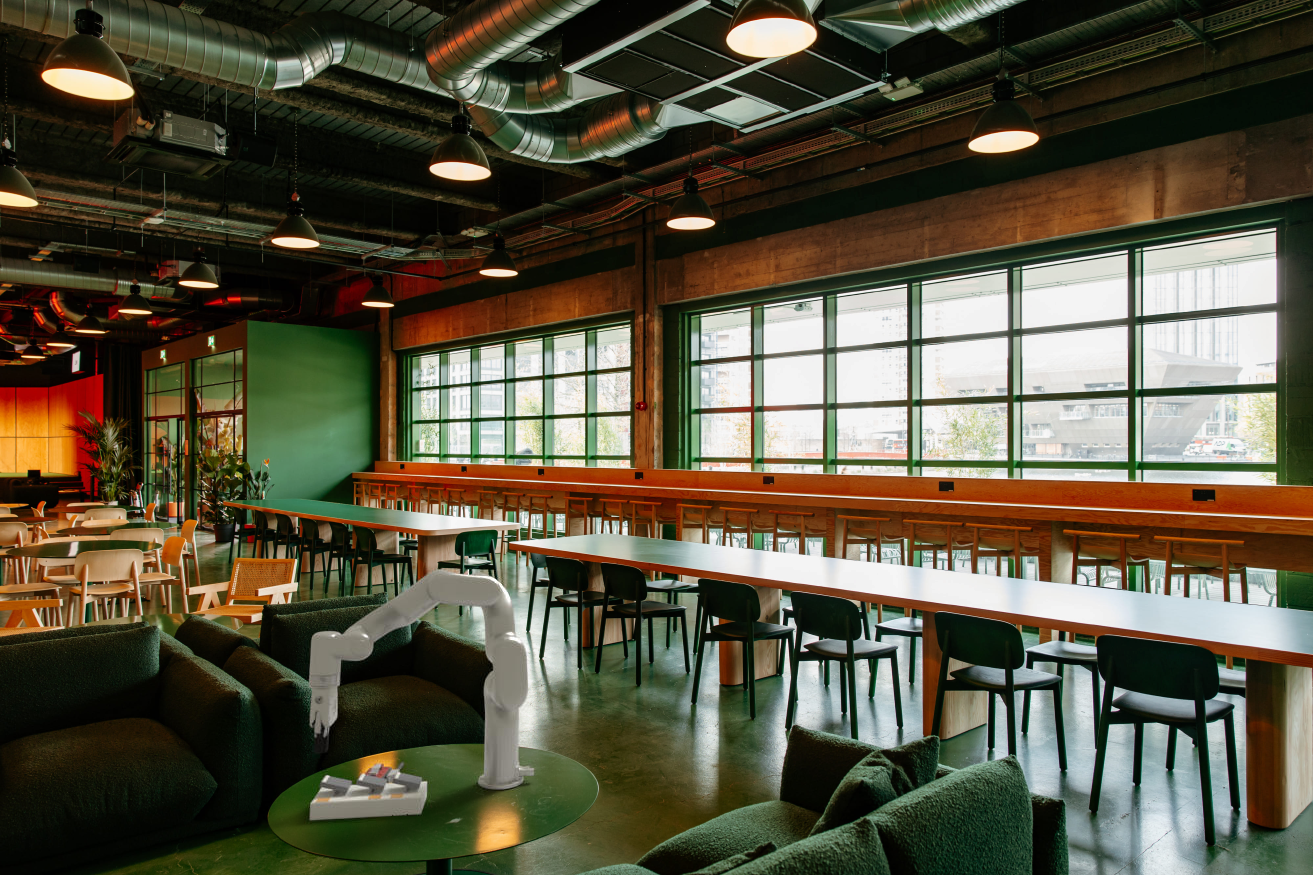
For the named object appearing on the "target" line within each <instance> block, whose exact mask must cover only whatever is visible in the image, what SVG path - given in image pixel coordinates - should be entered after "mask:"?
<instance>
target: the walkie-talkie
mask: <svg viewBox="0 0 1313 875" xmlns="http://www.w3.org/2000/svg"><path fill="white" fill-rule="evenodd" d="M404 765H405V762H403V761H402V762H400V764H399V765H398V766H397V767H396V769H393V768H392V767H390V766H385V765H384V763H375V764H374V765H372V767H369V768H368V769H367V770H366V772H364V774H365V775H370V776H374V777H379V778H384V779H387V783H389V782H390V783H392V781H393V778H394V776H395V774H396V772H400V771H401V769H403V767H404Z"/></svg>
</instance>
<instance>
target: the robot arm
mask: <svg viewBox="0 0 1313 875" xmlns="http://www.w3.org/2000/svg"><path fill="white" fill-rule="evenodd" d="M440 604H444V605H450V606H451V605H453V606H467V607H477V608H478V607H479V608H481V610H482V614H483V621H484V636H485V639H484V642H485V648H484V650H485V655H486V657H487V659H488V661H490V663H491V664H492V669H493V670H492V671H490V672H489V673H488V675H487V676H486V678H485V680H484V685H483V697H484V712H485V713H484V716H485V717H484V719H485V720H484V759H483V760H484V761H483V762H484V763H483V770H484V771H483V774H482V775H480V776H479V777H478V781H477V782H478V785H479V786H480V787H481V788H484V789H487V790H506V789H508V790H509V789H512V788H515V787H518V786H519V785H520V786H521V785H522V783H523V782H524V776H534V775H535V768H534V767H531V766H522V765H520V761H519V746H520V744H519V737H520V736H519V734H520V731H519V730H520V729H519V728H520V708H521V707H522V706H523V705H524V704H525V702H526V700H527V697H528V694H529V693H528V692H529V675H528V658H527V651H526V647H525V644H524V643H523V641H522V640H521V639H520V638H519V637H517V634H516V623H515V612H514V604H513V602H512V598H511V596H510V595H509V592H508V590H506V588H505V587H504V586H503V585H502V583H501V582H500V581H499V580H497V579H496V578H495V577H493V576H491V575H489V574H486V573H484V572H473V573H471V574H463V573H455V572H451V571H448V570H446V569H442V568H440V569H439V568H438V569H435V570H432V571H430V572H429V573H428V574H426V575H424V576H423V577H422V578H421V579H419V580H418V581H416V582H415V583H414V584H412V585H411V586H410V587H408V588H406V589H405V590H403V591H402V592H401V593H399V594H398V595H397V596H395V597H394V598H393V599H391V600H388V601H387V602H386V603H384V604H382V605H381V606H379V607H378V608H376V609H374V610H372V611H371V612H370V613H368V614H366V615H365V616H363V617H362V618H360V620H358V621H356V622H355V623H354V624H352V625H351V626H349V627H348V628H347V629H346V630H345V631H344V632H343V633H341V632H339V631H335V630H334V631H333V630H331V631H330V630H328V631H327V630H325V631H319V632H315V633H314V634H313V635H312V637H311V642H310V662H309V675H308V676H309V678H308V688H310V689H312V690H311V691H312V692H311V699H310V700H311V701H310V711H309V712H310V713H309V726H310V728H312V729H313V728H314V732H313V733H314V738H313V753H314V754H323V753H324V754H325V753H327V751H328V750H329V738H330V735H329V732H330V727H331V726H332V725H333V724H334V723H335V721H337V718H338V696H339V695H338V687H339V686H340V684H341V667H342V666H341V664H342V661H353V662H355V661H356V662H358V661H362V660H365V659H367V658H368V657H369V656H370V655H372V652H373V650H374V643H375V642H376V641H378V640H379V639H381V638H382V637H384V636H385V635H387V634H388V633H390V632H392V631H394V630H397V629H399V628H403V627H407V626H410V625H412V624H413V623H414V622H416V621H417V620H419V619H420V618H422V617H423V616H424V615H425V614H427V613H428V612H429V611H431V610H432V609H433V608H436V607H437V605H440Z"/></svg>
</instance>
